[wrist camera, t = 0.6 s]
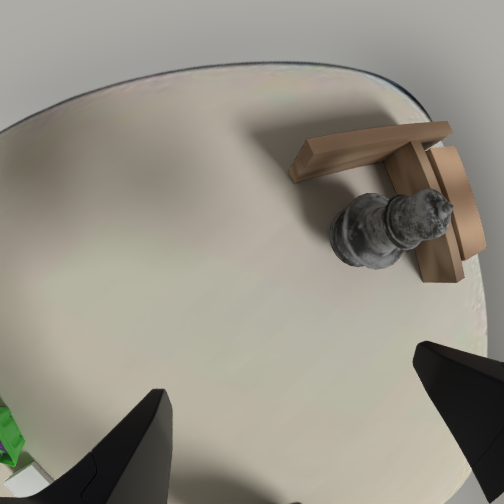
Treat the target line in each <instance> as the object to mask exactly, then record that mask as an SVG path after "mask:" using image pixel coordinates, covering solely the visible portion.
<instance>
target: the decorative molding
mask: <svg viewBox="0 0 504 504" xmlns="http://www.w3.org/2000/svg"><path fill="white" fill-rule="evenodd" d="M53 482H54V480H53V479H52V478H51V477H50V476H49V475H48V474H47V473H46V472H45V471H44V470H43V469H42V468H41V467H40V466H39V465H38V464H37V463H36V462H35V461H34V462H32V463H30V464H28V465H27V466H25V467H23V468H22V469H20V470H18V471H16V472H14V473H13V474H12V475H11V476H10V477H9V478H8V479H7V480H6V481H5V482H4V484H5V485H6V487H7V488H8V489H9V490H10V491H11V492H12V493H13V494H14V495H15V496H16V497H28V496H31V495H34V494H36V493H38V492H40V491H41V490H43V489H44V488H45V487H47V486H48V485H50V484H51V483H53Z"/></svg>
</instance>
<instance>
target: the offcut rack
mask: <svg viewBox="0 0 504 504" xmlns="http://www.w3.org/2000/svg"><path fill="white" fill-rule="evenodd" d="M451 133H453V132H452V130H451V128H450V126H449V124H448V122H447V121H444V122H426V123H413V124H403V125H393V126H384V127H376V128H369V129H362V130H355V131H349V132H343V133H337V134H331V135H325V136H320V137H315V138H310V139H307V140H306V141H305V143H304V145H303V147H302V148H301V150H300V152H299V154H298V155H297V157H296V159H295V160H294V162H293V164H292V166H291V167H290V169H289V173H290V176H291V178H292V181H293V183H297V182H300V181H304V180H308V179H312V178H316V177H319V176H323V175H327V174H331V173H335V172H340V171H344V170H348V169H352V168H356V167H361V166H365V165H370V164H374V163H379V162H384V164H385V167H386V169H387V171H388V174H389V176H390V179H391V181H392V184H393V186H394V189H395V192H396V194H397V195H398V194H404V195H407V196H410V195H412V194H414V193H416V192H419V191H421V190H423V189H435V190H437V191H438V192H440V193H441V190H440V187H439V185H438V182H437V179H436V177H435V174H434V172H433V169H432V167H431V164H430V162H429V160H428V157H427V155H426V153H425V150H427V149H428V148H430V147H431V146H433V145H434V144H436V143H438V142H439V141H441V140H442V139H444V138H445V137H447V136H448V135H450V134H451ZM441 194H442V193H441ZM414 249H415V252H416V256H417V260H418V263H419V267H420V271H421V275H422V280H423V282H435V283H457V282H459V281H460V280H462V279H463V278H465V277H464V272H463V267H462V262H461V258H460V253H459V249H458V245H457V241H456V237H455V234H454V230H453V227H452V223H451V220H450V224H449V227H448V229H447V231H446V232H445V233H444V234H443V235H442V236H440V237H438V238H435V239H429V240H424V241H421V242H420V243H419V244H418V245H417V246H416V247H415V248H414Z"/></svg>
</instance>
